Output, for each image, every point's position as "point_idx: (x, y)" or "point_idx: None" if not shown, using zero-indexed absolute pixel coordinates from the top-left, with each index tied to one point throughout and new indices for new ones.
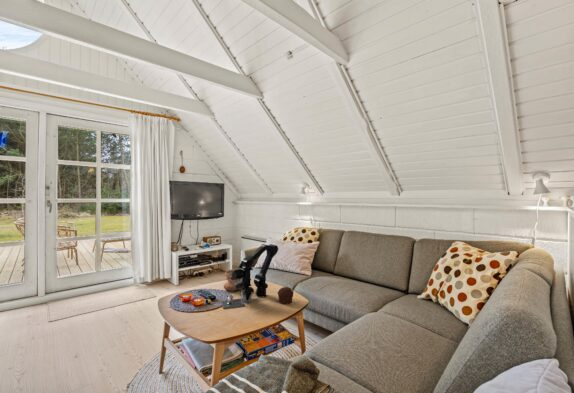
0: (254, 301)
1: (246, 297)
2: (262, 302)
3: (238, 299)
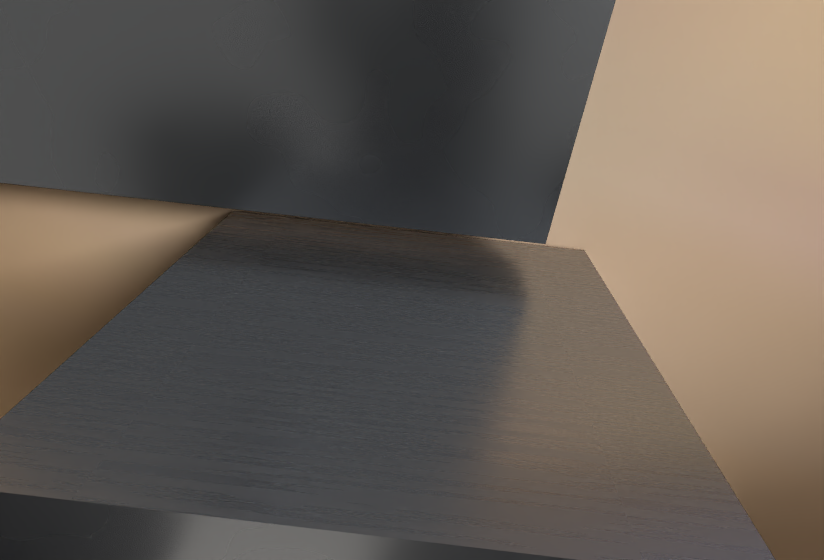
0: None
1: None
2: None
3: (472, 82)
